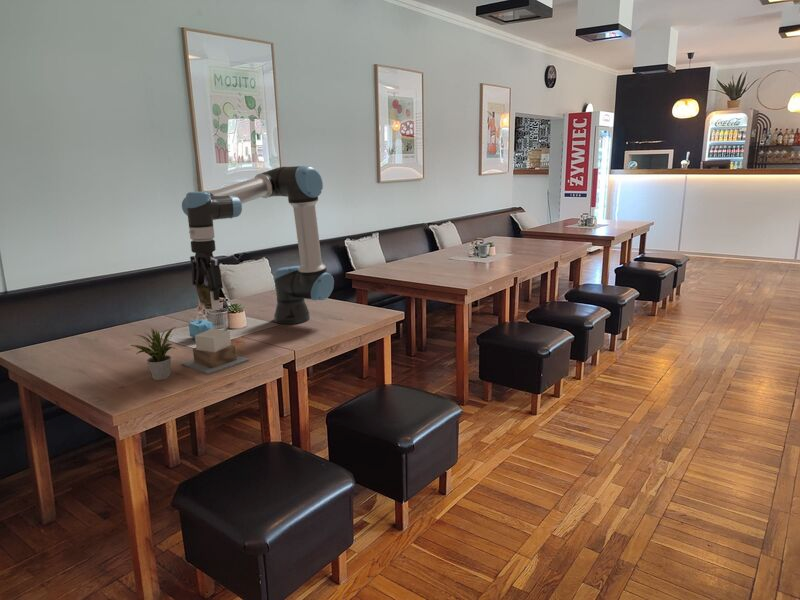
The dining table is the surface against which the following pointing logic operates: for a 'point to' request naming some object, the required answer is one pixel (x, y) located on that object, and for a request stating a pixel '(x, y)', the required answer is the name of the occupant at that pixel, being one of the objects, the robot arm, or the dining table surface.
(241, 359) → the felt mat
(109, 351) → the dining table surface
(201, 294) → the olive green rounded piece
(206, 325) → the blue sponge
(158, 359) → the house plant
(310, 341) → the dining table surface
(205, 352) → the block base
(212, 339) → the block top
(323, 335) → the dining table surface
